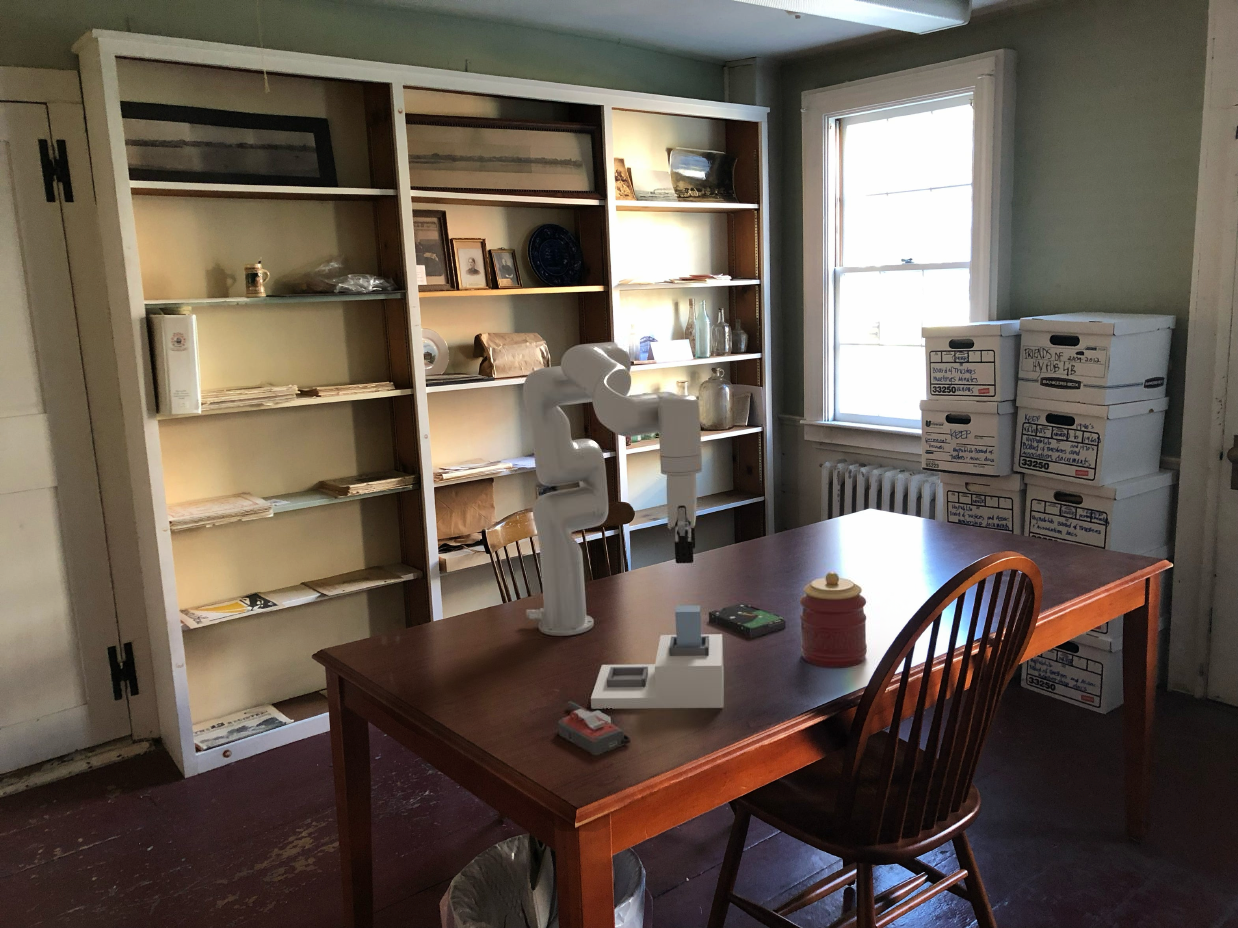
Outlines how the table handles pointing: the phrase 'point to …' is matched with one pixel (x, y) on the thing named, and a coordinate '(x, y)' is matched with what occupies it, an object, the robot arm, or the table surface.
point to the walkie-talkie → (591, 730)
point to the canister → (833, 622)
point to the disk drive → (747, 620)
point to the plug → (688, 626)
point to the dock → (666, 678)
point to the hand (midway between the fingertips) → (685, 555)
